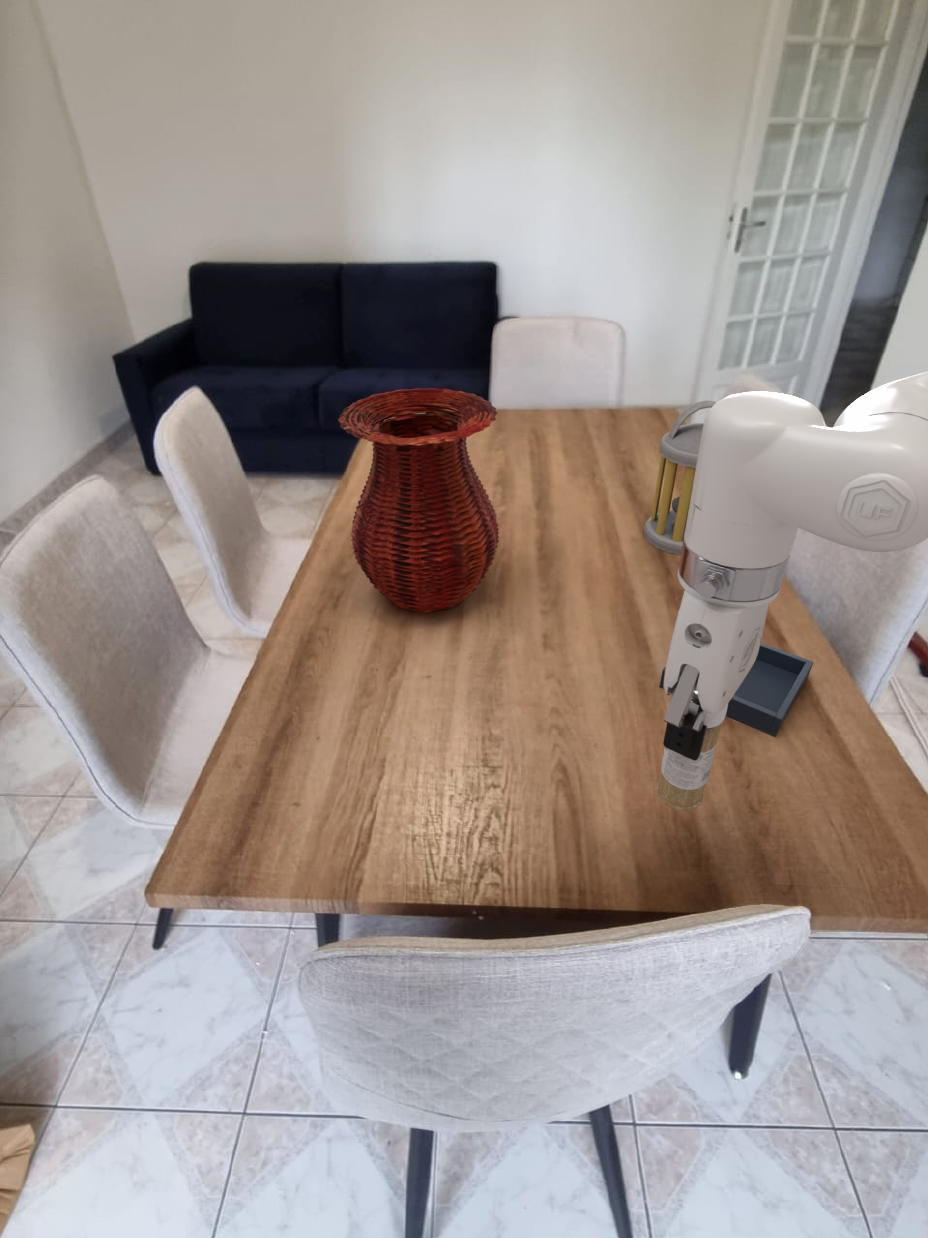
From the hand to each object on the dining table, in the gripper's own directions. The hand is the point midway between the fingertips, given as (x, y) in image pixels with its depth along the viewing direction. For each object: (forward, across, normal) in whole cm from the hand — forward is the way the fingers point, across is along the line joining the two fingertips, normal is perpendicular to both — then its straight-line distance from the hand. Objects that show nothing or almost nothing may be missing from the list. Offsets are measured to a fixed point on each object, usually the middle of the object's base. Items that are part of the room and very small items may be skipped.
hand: (693, 732), depth 62 cm
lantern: (+17, +64, +26) cm, 71 cm away
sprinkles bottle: (+9, 0, 0) cm, 9 cm away
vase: (+17, +23, +53) cm, 60 cm away
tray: (+18, +30, +4) cm, 35 cm away
